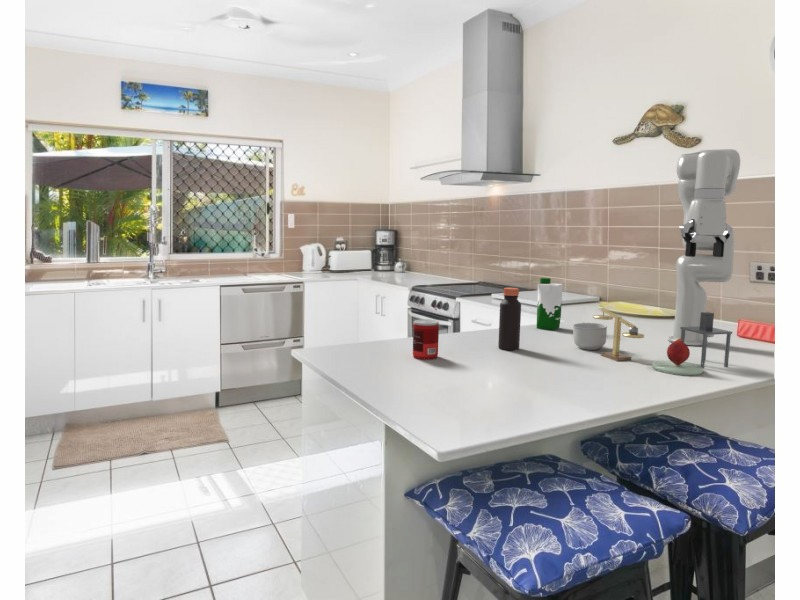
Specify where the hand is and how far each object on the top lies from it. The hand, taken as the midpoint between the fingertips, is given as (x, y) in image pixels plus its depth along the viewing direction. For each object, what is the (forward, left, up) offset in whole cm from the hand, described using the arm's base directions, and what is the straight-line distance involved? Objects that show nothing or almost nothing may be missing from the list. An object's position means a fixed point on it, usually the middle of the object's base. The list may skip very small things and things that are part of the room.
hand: (704, 256), depth 162 cm
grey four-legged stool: (-5, -2, -32) cm, 33 cm away
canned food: (+74, -28, -32) cm, 86 cm away
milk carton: (+9, -67, -32) cm, 75 cm away
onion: (+8, +2, -31) cm, 32 cm away
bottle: (+43, -34, -32) cm, 64 cm away
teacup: (+15, -31, -32) cm, 47 cm away
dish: (+8, +2, -32) cm, 33 cm away
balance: (+16, -15, -32) cm, 39 cm away
